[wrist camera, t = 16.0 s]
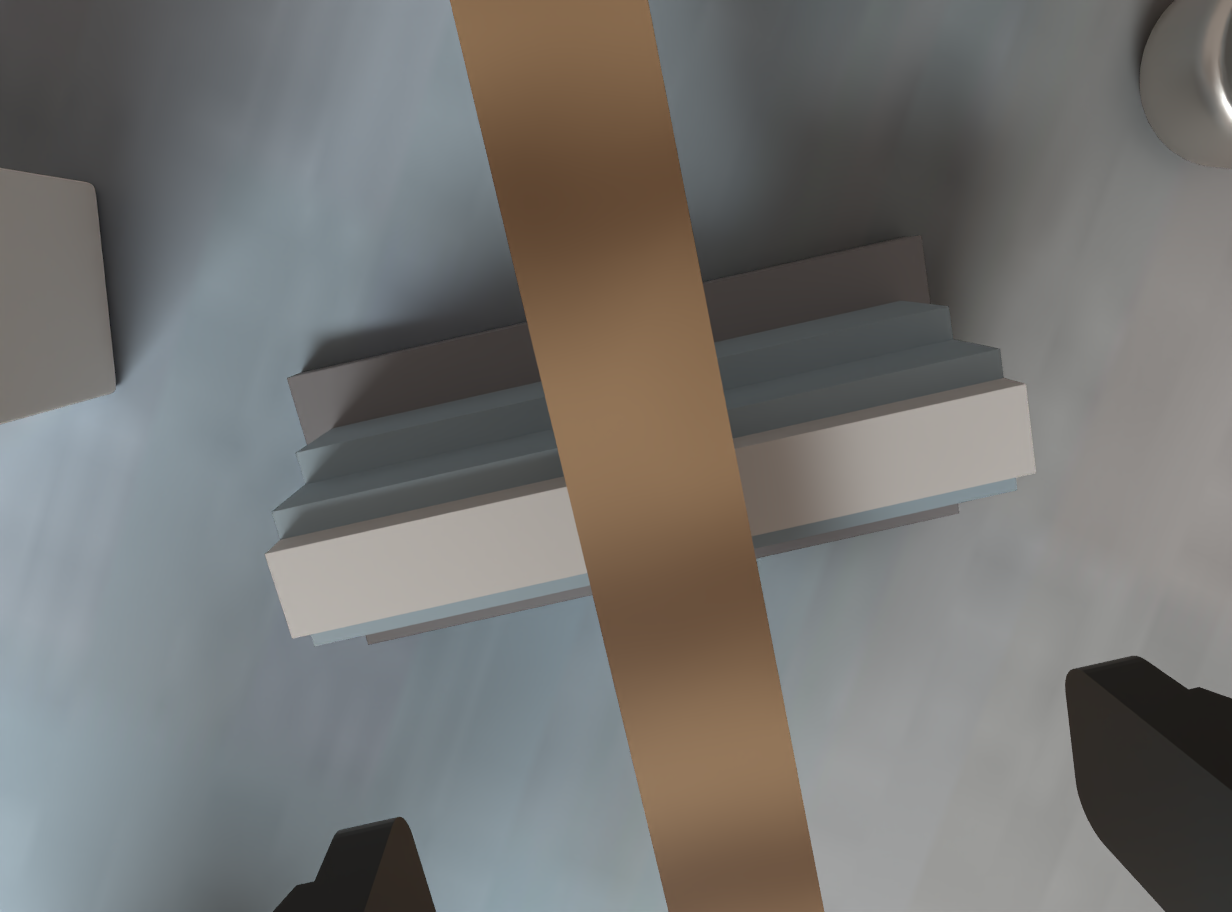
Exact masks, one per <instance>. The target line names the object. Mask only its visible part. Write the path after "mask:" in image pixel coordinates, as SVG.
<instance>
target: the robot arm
mask: <svg viewBox="0 0 1232 912" xmlns="http://www.w3.org/2000/svg"><path fill="white" fill-rule="evenodd" d="M1065 690H1066V700H1067V709H1068V717H1069V726H1070V735H1071V743H1072V752H1073V761H1074V769H1075V778H1076V785H1077V791H1078V795H1079V798H1080V801H1081V804H1082V807H1083V810H1084V812H1085V814H1086V816H1087V819H1088V821H1089V823H1090V824H1091V826H1092V828H1093V830H1094V831H1095V833H1096V834H1097V836H1098V837H1099V839H1100V840H1101V841H1102V842H1103V844H1104V845H1105V846H1106V847H1107V848H1108V849H1109V850H1110V851H1111V852H1112V854H1113V855H1114V856H1115V857H1116V858H1117V859H1118V860H1119V861H1120V862H1121V863H1122V865H1123V866H1124V867H1125V868H1126V869H1127V870H1128V871H1129V872H1130V873H1131V874H1132V876H1133V877H1134V878H1135V879H1136V880H1137V881H1138V882H1139V883H1140V884H1141V885H1142V887H1143V888H1144V889H1145V890H1146V891H1147V892H1148V893H1149V894H1150V895H1151V896H1152V897H1153V899H1154V900H1155V901H1156V902H1157V903H1158V904H1159V905H1160V906H1161V907H1162V908H1163V910H1164V911H1165V912H1232V699H1231V698H1229V697H1226V696H1223V695H1220V694H1217V693H1214V692H1212V691H1209V690H1206V689H1203V688H1200V687H1198V688H1193V689H1189V690H1188V689H1187V688H1185V687H1184V686H1182V685H1181V684H1180V683H1178V682H1177V681H1175V680H1174V679H1172V678H1171V677H1169V676H1168V675H1167V674H1165V673H1164V672H1162V671H1161V670H1159V669H1158V668H1156V667H1155V666H1154V665H1152V664H1151V663H1149V662H1148V661H1146V660H1145V659H1143V658H1141V657H1138V656H1130V657H1125V658H1121V659H1116V660H1112V661H1107V662H1103V663H1098V664H1094V665H1089V666H1085V667H1080V668H1076V669H1072V670H1070V671H1069V672H1068V674H1067V676H1066V682H1065ZM273 912H436V910H435V907H434V904H433V901H432V897H431V894H430V891H429V888H428V884H427V881H426V878H425V875H424V871H423V868H422V865H421V862H420V858H419V855H418V852H417V849H416V845H415V842H414V839H413V836H412V833H411V830H410V828H409V825H408V824H407V822H406V821H405V820H404V818H402V817H397V818H392V819H388V820H383V821H379V822H374V823H370V824H365V825H361V826H356V827H352V828H347V829H343V830H339V831H338V832H337V833H336V834H335V836H334V837H333V839H332V842H331V844H330V846H329V849H328V851H327V853H326V856H325V858H324V860H323V863H322V865H321V868H320V870H319V872H318V875H317V877H316V879H315V881H314V882H310V883H305V884H301V885H296V887H295V888H294V889H293V890H292V891H291V892H290V893H289V894H288V895H287V897H286V898H285V899H284V900H283V901H282V902H281V903H280V904H279V905H278V906H277V908H276V909H275V910H274V911H273Z"/></svg>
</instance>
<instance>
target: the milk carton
mask: <svg viewBox="0 0 1232 912" xmlns="http://www.w3.org/2000/svg"><path fill="white" fill-rule="evenodd" d="M115 389H116V378H115V368H114V358H113V349H112V339H111V330H110V320H109V311H108V301H107V292H106V283H105V273H104V264H103V254H102V245H101V236H100V226H99V217H98V208H97V200H96V193H95V188H94V186H93V185H92V184H91V183H88V182H83V181H77V180H71V179H65V178H59V177H53V176H47V175H40V174H34V173H28V172H22V171H16V170H10V169H4V168H0V424H4V423H7V422H11V421H15V420H18V419H22V418H25V417H29V416H32V415H36V414H40V413H43V412H47V411H50V410H54V409H57V408H61V407H65V406H68V405H72V404H75V403H79V402H83V401H86V400H90V399H93V398H97V397H100V396H104V395H108V394H111V393H113V392H114V391H115Z"/></svg>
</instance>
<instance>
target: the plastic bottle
mask: <svg viewBox="0 0 1232 912" xmlns="http://www.w3.org/2000/svg"><path fill="white" fill-rule="evenodd" d="M1139 89H1140V96H1141V102H1142V106H1143V109H1144V112H1145V114H1146V117H1147V120H1148V122H1149V124H1150V125H1151V127H1152V129H1153V130H1154V132H1155V133H1156V135H1157V137H1158V138H1159V139H1160V140H1161V141H1162V142H1163V143H1164V144H1165V145H1166V146H1167V147H1168V148H1169V149H1170V150H1171V151H1173V152H1174V153H1176V154H1177V155H1179V156H1180V157H1182V158H1183V159H1185V160H1188V161H1190V162H1193V163H1196V164H1198V165H1202V166H1209V167H1216V168H1226V169H1232V0H1174V1H1173V2H1172V3H1171V5H1170V6H1169V7H1168V8H1167V9H1166V10H1165V11H1164V12H1163V13H1162V15H1161V17H1160V18H1159V20H1158V21H1157V23H1156V24H1155V26H1154V28H1153V29H1152V31H1151V34H1150V36H1149V38H1148V41H1147V43H1146V46H1145V48H1144V52H1143V57H1142V62H1141V66H1140V88H1139Z"/></svg>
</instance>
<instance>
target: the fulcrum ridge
mask: <svg viewBox="0 0 1232 912" xmlns="http://www.w3.org/2000/svg"><path fill="white" fill-rule="evenodd" d="M702 283H703V288H704V293H705V298H706V303H707V309H708V314H709V319H710V324H711V329H712V334H713V340H714V345H715V350H716V355H717V360H718V365H719V371H720V376H721V381H722V386H723V391H724V396H725V402H726V407H727V412H728V417H729V422H730V427H731V433H732V438H733V443H734V448H735V453H736V458H737V464H738V469H739V474H740V479H741V484H742V489H743V495H744V500H745V505H746V510H747V515H748V520H749V526H750V531H751V536H752V541H753V546H754V551H755V557H756V558H760V557H765V556H769V555H774V554H778V553H783V552H787V551H792V550H796V549H801V548H805V547H810V546H814V545H819V544H823V543H828V542H832V541H837V540H841V539H846V538H850V537H855V536H859V535H864V534H868V533H872V532H877V531H881V530H886V529H890V528H895V527H899V526H904V525H908V524H913V523H917V522H922V521H926V520H931V519H935V518H940V517H944V516H949V515H953V514H958V513H959V507H958V503H962V502H966V501H971V500H975V499H980V498H984V497H988V496H993V495H997V494H1002V493H1006V492H1011V491H1015V490H1017V484H1016V477H1020V476H1024V475H1029V474H1033V473H1036V468H1035V459H1034V450H1033V442H1032V433H1031V424H1030V416H1029V407H1028V398H1027V390H1026V384H1024V383H1020V382H1017V381H1013V380H1009V379H1006V378H1004V377H1003V369H1002V360H1001V352H1000V349H998V348H994V347H989V346H984V345H979V344H974V343H969V342H964V341H959V340H955V339H953V334H952V326H951V319H950V311H949V306H942V305H934V304H931V303H930V296H929V288H928V281H927V274H926V267H925V259H924V252H923V245H922V237H921V235H920V236H907V237H901V238H897V239H893V240H888V241H884V242H879V243H875V244H870V245H866V246H861V247H857V248H853V249H848V250H844V251H839V252H835V253H830V254H826V255H821V256H817V257H813V258H808V259H804V260H799V261H795V262H790V263H786V264H781V265H777V266H773V267H768V268H764V269H759V270H755V271H750V272H746V273H741V274H737V275H733V276H728V277H724V278H719V279H715V280H710V281H706V282H702ZM287 380H288V384H289V387H290V390H291V394H292V397H293V400H294V403H295V407H296V410H297V413H298V416H299V420H300V423H301V426H302V429H303V433H304V436H305V439H306V443H307V446H305V447H304V448H302V449H301V450H299V451H298V452H296V456H297V459H298V462H299V465H300V469H301V472H302V475H303V478H304V481H305V485H304V486H303V487H302V488H300V489H299V490H298V491H297V492H295V493H294V494H293V495H292V496H291V497H289V498H288V499H287V500H286V501H284V502H283V503H282V504H281V505H279V506H278V507H277V508H276V509H275V510H273V511H272V516H273V519H274V522H275V525H276V528H277V531H278V534H279V537H280V540H279V541H278V542H277V543H276V544H275V545H274V546H273V547H272V548H271V549H270V550H269V551H268V552H267V553H265V557H266V560H267V563H268V566H269V569H270V572H271V575H272V578H273V581H274V584H275V587H276V590H277V593H278V596H279V599H280V602H281V606H282V609H283V612H284V615H285V618H286V621H287V624H288V627H289V630H290V633H291V636H292V639H293V638H298V637H302V636H307V635H311V637H312V640H313V643H314V646H320V645H324V644H329V643H333V642H338V641H342V640H347V639H351V638H356V637H360V636H365V635H366V639H367V642H368V645H370V644H374V643H379V642H383V641H388V640H392V639H397V638H401V637H406V636H410V635H415V634H419V633H423V632H428V631H432V630H437V629H441V628H446V627H450V626H455V625H459V624H464V623H468V622H473V621H477V620H482V619H486V618H491V617H495V616H500V615H504V614H509V613H513V612H518V611H522V610H527V609H531V608H536V607H540V606H545V605H549V604H554V603H558V602H563V601H567V600H572V599H576V598H581V597H585V596H590V595H593V594H592V590H591V586H590V582H589V578H588V573H587V569H586V565H585V561H584V557H583V553H582V548H581V544H580V540H579V536H578V532H577V528H576V523H575V519H574V515H573V511H572V507H571V503H570V498H569V494H568V490H567V486H566V482H565V478H564V473H563V469H562V465H561V461H560V457H559V453H558V448H557V444H556V440H555V436H554V432H553V428H552V423H551V419H550V415H549V411H548V407H547V403H546V398H545V394H544V390H543V386H542V382H541V378H540V373H539V369H538V365H537V361H536V357H535V353H534V348H533V344H532V340H531V336H530V332H529V328H528V324H527V322H524V323H519V324H515V325H510V326H506V327H502V328H497V329H493V330H488V331H484V332H479V333H475V334H470V335H466V336H462V337H457V338H453V339H448V340H444V341H439V342H435V343H430V344H426V345H422V346H417V347H413V348H408V349H404V350H399V351H395V352H390V353H386V354H382V355H377V356H373V357H368V358H364V359H359V360H355V361H350V362H346V363H342V364H337V365H333V366H328V367H324V368H319V369H315V370H310V371H306V372H302V373H299V374H296V375H294V376H291V377H288V378H287Z"/></svg>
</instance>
